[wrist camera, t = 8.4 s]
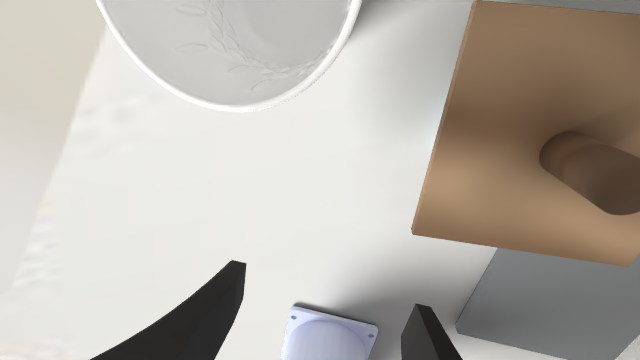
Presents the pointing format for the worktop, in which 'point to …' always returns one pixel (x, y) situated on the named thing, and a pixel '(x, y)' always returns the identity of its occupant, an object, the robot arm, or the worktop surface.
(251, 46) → the white cup
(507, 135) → the lid
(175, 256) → the worktop surface
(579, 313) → the mat
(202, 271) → the worktop surface
